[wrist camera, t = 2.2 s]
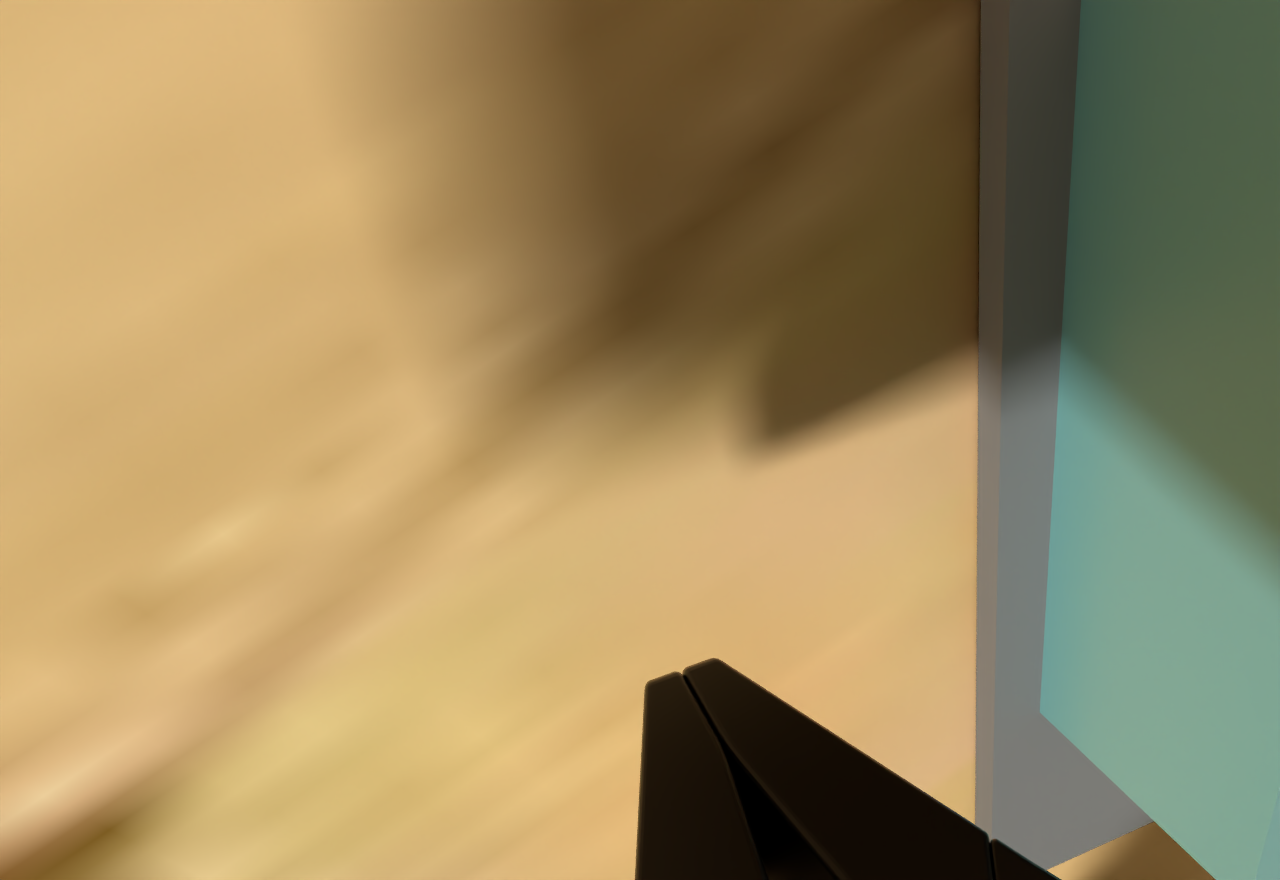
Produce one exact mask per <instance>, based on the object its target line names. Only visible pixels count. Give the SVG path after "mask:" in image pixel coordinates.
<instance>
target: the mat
mask: <svg viewBox="0 0 1280 880" xmlns="http://www.w3.org/2000/svg"><path fill="white" fill-rule="evenodd" d="M1080 11H1081V0H981V68H980V215H979V361H978V507H977V654H976V800H975V825H976V826H977V827H979V828H981V829H982V830H984V831H985V832H986V833H987V834H988V835H989V839H990V841H991V840H992V839H998V840H1000V841H1001V842H1003V843H1004V844H1006V845H1007V846H1009V847H1010V848H1012V849H1013V850H1015V851H1016V852H1018V853H1020V854H1021V855H1023V856H1024V857H1026V858H1027V859H1029V860H1030V861H1032V862H1033V863H1035V864H1037V865H1038V866H1040V867H1041V868H1043V869H1045V870H1048V869H1050V868H1052V867H1054V866H1056V865H1059V864H1061V863H1063V862H1065V861H1067V860H1070V859H1072V858H1074V857H1076V856H1078V855H1081V854H1083V853H1085V852H1087V851H1090V850H1092V849H1094V848H1096V847H1098V846H1101V845H1103V844H1105V843H1107V842H1109V841H1112V840H1114V839H1116V838H1118V837H1121V836H1123V835H1125V834H1127V833H1129V832H1132V831H1134V830H1136V829H1138V828H1140V827H1143V826H1145V825H1147V824H1149V823H1152V822H1154V821H1153V820H1152V819H1151V818H1150V817H1149V816H1148V815H1147V814H1146V813H1145V812H1144V811H1143V810H1142V809H1141V808H1140V807H1139V806H1138V805H1137V804H1136V803H1135V802H1134V801H1132V800H1131V799H1130V798H1129V797H1128V796H1127V795H1126V794H1125V793H1124V792H1123V791H1122V790H1121V789H1120V788H1119V787H1118V786H1117V785H1116V784H1115V783H1114V782H1112V781H1111V780H1110V779H1109V778H1108V777H1107V776H1106V775H1105V774H1104V773H1103V772H1102V771H1101V770H1100V769H1099V768H1098V767H1097V766H1096V765H1095V764H1094V763H1093V762H1091V761H1090V760H1089V759H1088V758H1087V757H1086V756H1085V755H1084V754H1083V753H1082V752H1081V751H1080V750H1079V749H1078V748H1077V747H1076V746H1075V745H1074V744H1073V743H1072V742H1070V741H1069V740H1068V739H1067V738H1066V737H1065V736H1064V735H1063V734H1062V733H1061V732H1060V731H1059V730H1058V729H1057V728H1056V727H1055V726H1054V725H1053V724H1052V723H1050V722H1049V721H1048V720H1047V719H1046V718H1045V717H1044V716H1043V715H1042V714H1041V713H1040V698H1041V681H1042V664H1043V647H1044V629H1045V612H1046V595H1047V578H1048V561H1049V544H1050V526H1051V509H1052V492H1053V475H1054V458H1055V440H1056V423H1057V406H1058V389H1059V372H1060V354H1061V337H1062V320H1063V303H1064V286H1065V268H1066V251H1067V234H1068V217H1069V200H1070V182H1071V165H1072V148H1073V131H1074V114H1075V96H1076V79H1077V62H1078V45H1079V28H1080Z"/></svg>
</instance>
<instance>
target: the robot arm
mask: <svg viewBox="0 0 1280 880" xmlns="http://www.w3.org/2000/svg"><path fill="white" fill-rule="evenodd" d="M635 880H1061V879H1059V878H1058V877H1056V876H1054V875H1053V874H1051V873H1050V872H1048V871H1046V870H1045V869H1043V868H1041V867H1040V866H1038V865H1037V864H1035V863H1033V862H1032V861H1030V860H1029V859H1027V858H1026V857H1024V856H1023V855H1021V854H1020V853H1018V852H1016V851H1015V850H1013V849H1012V848H1010V847H1009V846H1007V845H1006V844H1004V843H1003V842H1001V841H1000V840H998V839H992V840H991V841H990V839H989V835H988V834H987V833H986V832H985V831H984V830H982V829H981V828H979V827H977V826H976V825H974V824H973V823H971V822H970V821H968V820H967V819H965V818H964V817H962V816H961V815H959V814H957V813H956V812H954V811H953V810H951V809H950V808H948V807H947V806H945V805H944V804H942V803H940V802H939V801H937V800H936V799H934V798H933V797H931V796H930V795H928V794H927V793H925V792H923V791H922V790H920V789H919V788H917V787H916V786H914V785H913V784H911V783H910V782H908V781H906V780H905V779H903V778H902V777H900V776H899V775H897V774H896V773H894V772H893V771H891V770H889V769H888V768H886V767H885V766H883V765H882V764H880V763H879V762H877V761H876V760H874V759H872V758H871V757H869V756H868V755H866V754H865V753H863V752H862V751H860V750H859V749H857V748H856V747H854V746H852V745H851V744H849V743H848V742H846V741H845V740H843V739H842V738H840V737H839V736H837V735H835V734H834V733H832V732H831V731H829V730H828V729H826V728H825V727H823V726H822V725H820V724H818V723H817V722H815V721H814V720H812V719H811V718H809V717H808V716H806V715H805V714H803V713H801V712H800V711H798V710H797V709H795V708H794V707H792V706H791V705H789V704H788V703H786V702H784V701H783V700H781V699H780V698H778V697H777V696H775V695H774V694H772V693H771V692H769V691H767V690H766V689H764V688H763V687H761V686H760V685H758V684H757V683H755V682H754V681H752V680H751V679H749V678H747V677H746V676H744V675H743V674H741V673H740V672H738V671H737V670H735V669H734V668H732V667H730V666H729V665H727V664H726V663H724V662H723V661H721V660H719V659H716V658H711V659H708V660H705V661H702V662H700V663H697V664H694V665H691V666H689V667H686V668H685V669H684V670H683V673H682V674H681V673H679V672H672V673H669V674H667V675H664V676H661V677H658V678H656V679H653V680H650V681H648V682H647V684H646V686H645V693H644V713H643V732H642V752H641V771H640V791H639V810H638V830H637V849H636V869H635Z"/></svg>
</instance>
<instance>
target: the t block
mask: <svg viewBox="0 0 1280 880" xmlns="http://www.w3.org/2000/svg"><path fill="white" fill-rule="evenodd" d="M1040 713H1041V714H1042V715H1043V716H1044V717H1045V718H1046V719H1047V720H1048V721H1049V722H1050V723H1052V724H1053V725H1054V726H1055V727H1056V728H1057V729H1058V730H1059V731H1060V732H1061V733H1062V734H1063V735H1064V736H1065V737H1066V738H1067V739H1068V740H1069V741H1070V742H1072V743H1073V744H1074V745H1075V746H1076V747H1077V748H1078V749H1079V750H1080V751H1081V752H1082V753H1083V754H1084V755H1085V756H1086V757H1087V758H1088V759H1089V760H1090V761H1091V762H1093V763H1094V764H1095V765H1096V766H1097V767H1098V768H1099V769H1100V770H1101V771H1102V772H1103V773H1104V774H1105V775H1106V776H1107V777H1108V778H1109V779H1110V780H1111V781H1112V782H1114V783H1115V784H1116V785H1117V786H1118V787H1119V788H1120V789H1121V790H1122V791H1123V792H1124V793H1125V794H1126V795H1127V796H1128V797H1129V798H1130V799H1131V800H1132V801H1134V802H1135V803H1136V804H1137V805H1138V806H1139V807H1140V808H1141V809H1142V810H1143V811H1144V812H1145V813H1146V814H1147V815H1148V816H1149V817H1150V818H1151V819H1152V820H1153V821H1155V822H1156V823H1157V824H1158V825H1159V826H1160V827H1161V828H1162V829H1163V830H1164V831H1165V832H1166V833H1167V834H1168V835H1169V836H1170V837H1171V838H1172V839H1173V840H1175V841H1176V842H1177V843H1178V844H1179V845H1180V846H1181V847H1182V848H1183V849H1184V850H1185V851H1186V852H1187V853H1188V854H1189V855H1190V856H1191V857H1192V858H1193V859H1194V860H1196V861H1197V862H1198V863H1199V864H1200V865H1201V866H1202V867H1203V868H1204V869H1205V870H1206V871H1207V872H1208V873H1209V874H1210V875H1211V876H1212V877H1213V878H1214V879H1216V880H1280V0H1081V11H1080V28H1079V45H1078V62H1077V79H1076V96H1075V114H1074V131H1073V148H1072V165H1071V182H1070V200H1069V217H1068V234H1067V251H1066V268H1065V286H1064V303H1063V320H1062V337H1061V354H1060V372H1059V389H1058V406H1057V423H1056V440H1055V458H1054V475H1053V492H1052V509H1051V526H1050V544H1049V561H1048V578H1047V595H1046V612H1045V629H1044V647H1043V664H1042V681H1041V698H1040Z"/></svg>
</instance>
